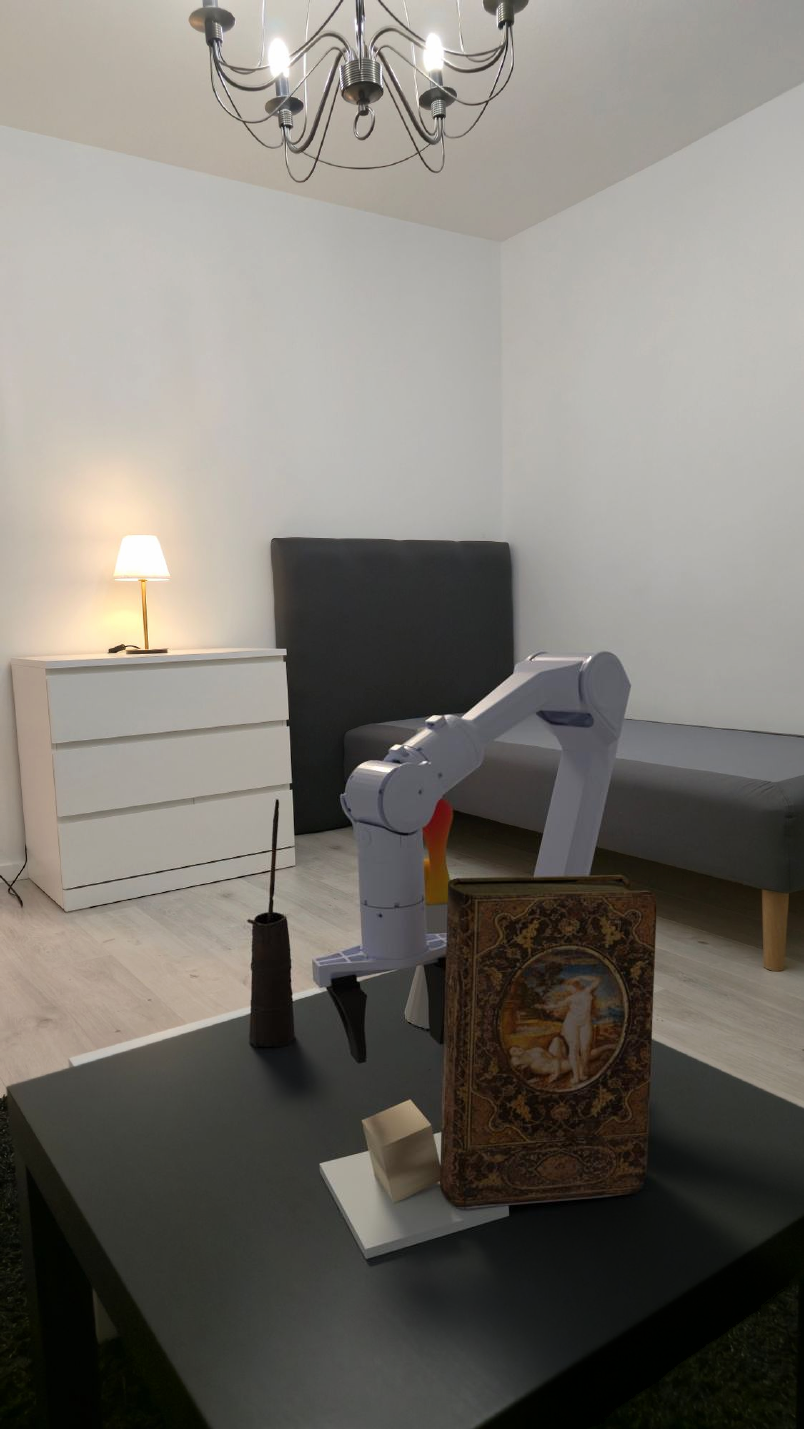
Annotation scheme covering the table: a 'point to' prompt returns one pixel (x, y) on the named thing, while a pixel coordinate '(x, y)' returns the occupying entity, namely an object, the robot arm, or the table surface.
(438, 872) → the lava lamp
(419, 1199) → the pad
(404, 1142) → the birch block
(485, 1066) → the book
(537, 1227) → the table surface
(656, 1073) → the table surface
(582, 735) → the robot arm
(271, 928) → the butter churn
